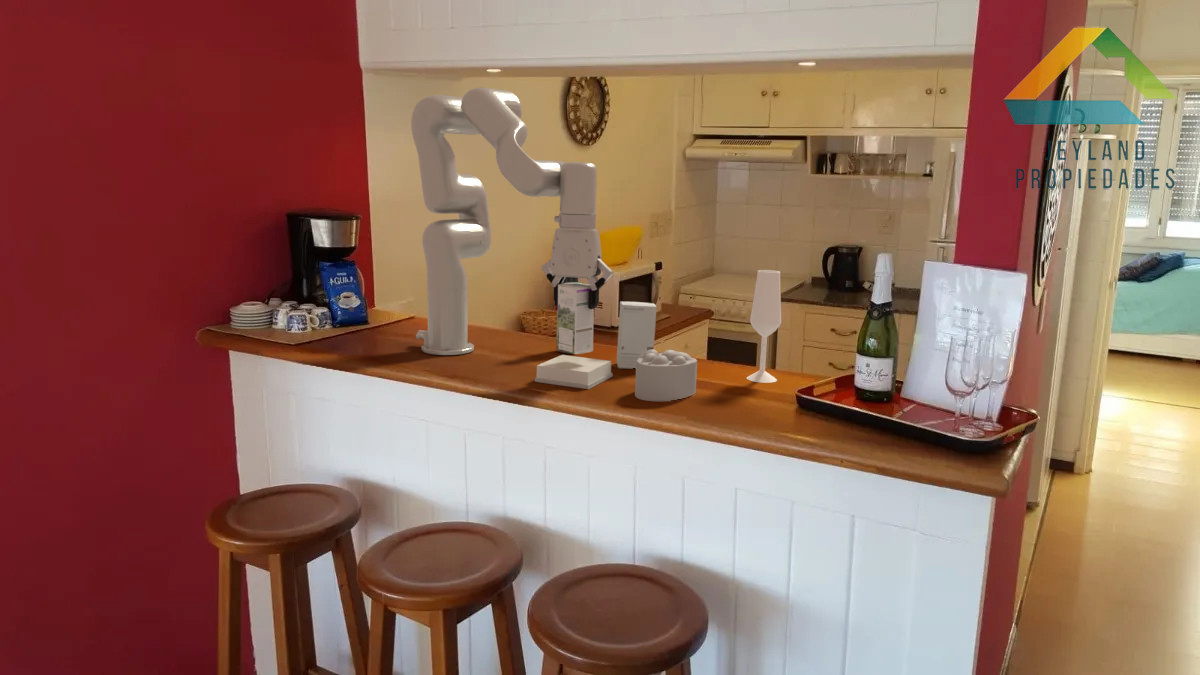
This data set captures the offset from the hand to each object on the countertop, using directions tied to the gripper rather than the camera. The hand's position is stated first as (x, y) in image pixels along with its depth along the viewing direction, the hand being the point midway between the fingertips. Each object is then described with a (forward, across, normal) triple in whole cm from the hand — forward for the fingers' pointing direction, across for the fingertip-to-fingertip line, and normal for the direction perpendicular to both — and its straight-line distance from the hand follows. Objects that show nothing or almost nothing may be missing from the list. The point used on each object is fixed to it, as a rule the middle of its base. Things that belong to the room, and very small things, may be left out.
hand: (575, 306), depth 184 cm
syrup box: (+10, 0, 0) cm, 10 cm away
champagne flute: (+16, +36, +21) cm, 45 cm away
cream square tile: (+16, 0, 0) cm, 16 cm away
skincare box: (+16, +7, +18) cm, 25 cm away
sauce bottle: (+16, -13, +24) cm, 32 cm away
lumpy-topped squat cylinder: (+16, +21, -2) cm, 27 cm away
